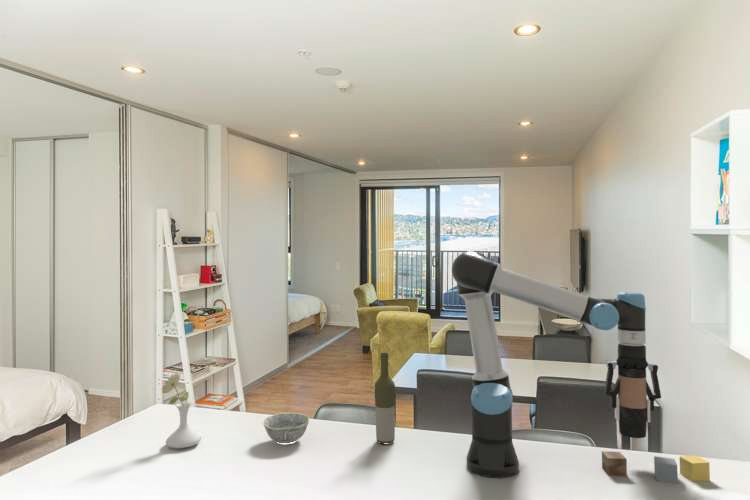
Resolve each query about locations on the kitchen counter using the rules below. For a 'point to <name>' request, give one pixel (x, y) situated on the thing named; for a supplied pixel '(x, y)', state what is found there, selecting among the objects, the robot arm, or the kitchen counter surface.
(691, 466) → the mustard cube
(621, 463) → the walnut cube
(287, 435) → the bowl
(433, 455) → the kitchen counter surface
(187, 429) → the flower in vase
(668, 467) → the slate grey cube
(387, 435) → the bottle
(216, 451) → the kitchen counter surface
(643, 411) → the travel mug
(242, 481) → the kitchen counter surface
